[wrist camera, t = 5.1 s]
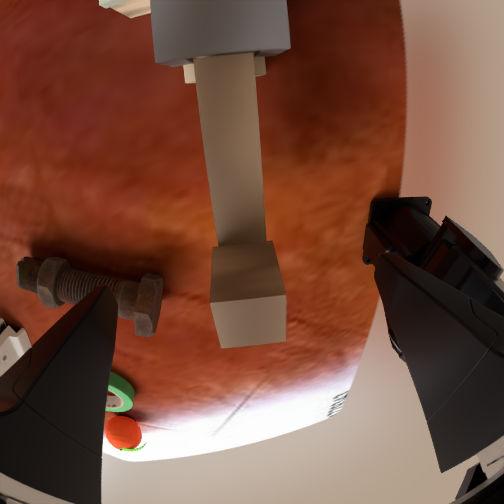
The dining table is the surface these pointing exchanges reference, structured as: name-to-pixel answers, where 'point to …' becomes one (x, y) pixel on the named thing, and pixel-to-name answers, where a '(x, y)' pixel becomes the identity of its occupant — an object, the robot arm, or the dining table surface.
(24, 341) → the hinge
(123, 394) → the tape roll
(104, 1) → the lid
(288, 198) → the dining table surface
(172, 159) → the dining table surface
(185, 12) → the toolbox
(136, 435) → the clementine
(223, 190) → the key
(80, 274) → the bolt
